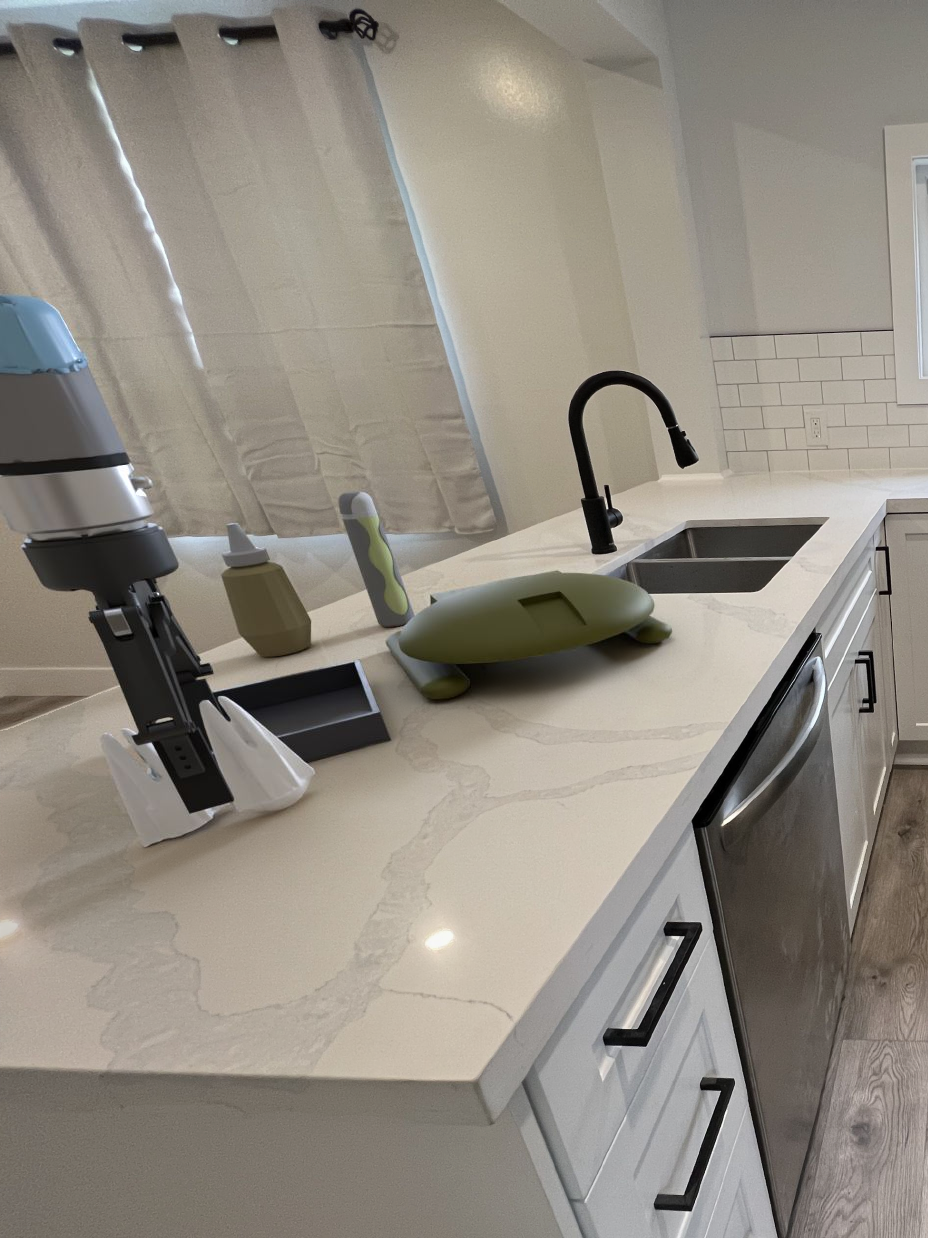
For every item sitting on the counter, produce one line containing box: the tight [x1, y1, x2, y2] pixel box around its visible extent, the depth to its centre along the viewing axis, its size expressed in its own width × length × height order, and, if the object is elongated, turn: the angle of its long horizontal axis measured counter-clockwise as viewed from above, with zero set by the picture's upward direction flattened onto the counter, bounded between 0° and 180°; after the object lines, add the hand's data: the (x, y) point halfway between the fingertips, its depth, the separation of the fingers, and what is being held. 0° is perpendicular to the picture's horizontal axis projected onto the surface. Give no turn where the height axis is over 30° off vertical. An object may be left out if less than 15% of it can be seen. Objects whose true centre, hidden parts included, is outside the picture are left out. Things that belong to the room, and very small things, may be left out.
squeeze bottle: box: [220, 522, 312, 657], centre depth 104 cm, size 8×8×18 cm
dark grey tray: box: [211, 659, 392, 764], centre depth 82 cm, size 21×16×3 cm
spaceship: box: [385, 569, 673, 700], centre depth 103 cm, size 35×31×10 cm
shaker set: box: [99, 696, 316, 848], centre depth 65 cm, size 12×4×11 cm, turn 119°
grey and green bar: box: [337, 490, 416, 628], centre depth 114 cm, size 5×5×20 cm
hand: (215, 775), depth 65 cm, fingers open, 13 cm apart
